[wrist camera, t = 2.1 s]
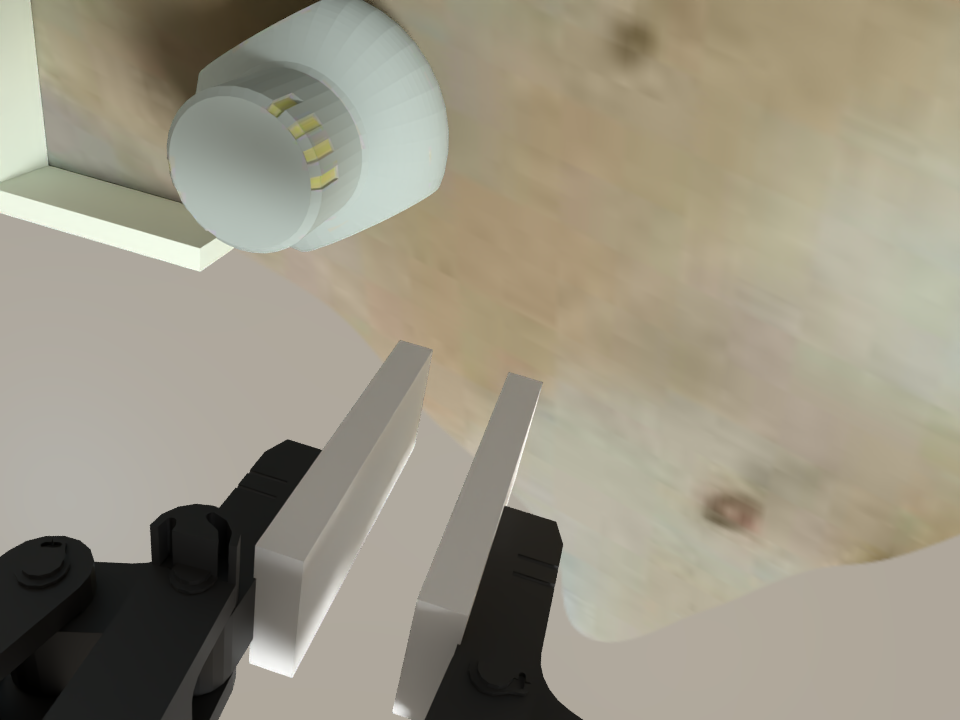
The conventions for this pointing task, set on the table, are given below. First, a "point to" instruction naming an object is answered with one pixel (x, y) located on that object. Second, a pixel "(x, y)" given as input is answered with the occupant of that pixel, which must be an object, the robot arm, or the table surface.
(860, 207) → the table surface
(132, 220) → the dock
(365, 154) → the air freshener
